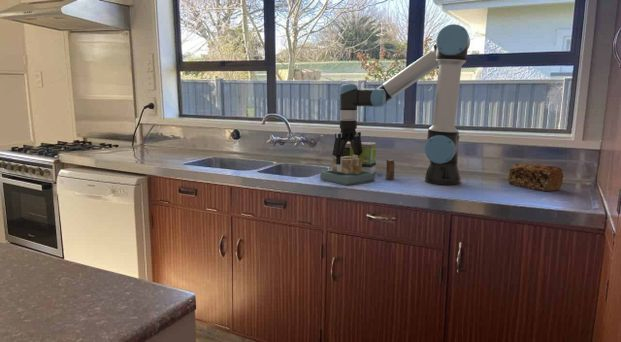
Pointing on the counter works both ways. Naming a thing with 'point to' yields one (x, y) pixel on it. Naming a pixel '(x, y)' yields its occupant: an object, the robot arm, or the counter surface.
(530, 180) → the bread
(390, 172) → the post
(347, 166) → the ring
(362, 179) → the tray
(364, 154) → the tea box
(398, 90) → the robot arm
